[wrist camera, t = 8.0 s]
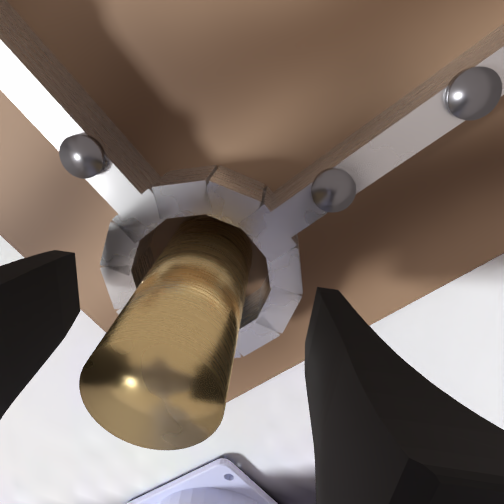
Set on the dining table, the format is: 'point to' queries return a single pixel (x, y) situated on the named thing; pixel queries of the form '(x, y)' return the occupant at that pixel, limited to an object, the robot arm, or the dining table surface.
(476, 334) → the dining table surface
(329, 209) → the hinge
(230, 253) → the brass pin
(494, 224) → the board
